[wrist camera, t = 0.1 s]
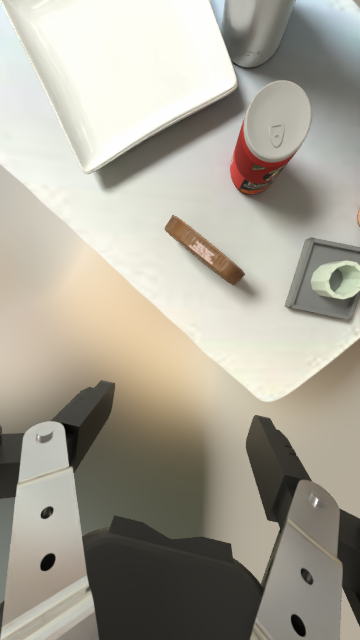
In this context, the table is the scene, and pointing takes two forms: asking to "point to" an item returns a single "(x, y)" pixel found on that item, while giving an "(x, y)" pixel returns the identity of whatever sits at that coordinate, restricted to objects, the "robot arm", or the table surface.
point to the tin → (204, 250)
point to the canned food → (270, 135)
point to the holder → (351, 284)
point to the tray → (311, 260)
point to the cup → (358, 217)
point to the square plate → (122, 67)
